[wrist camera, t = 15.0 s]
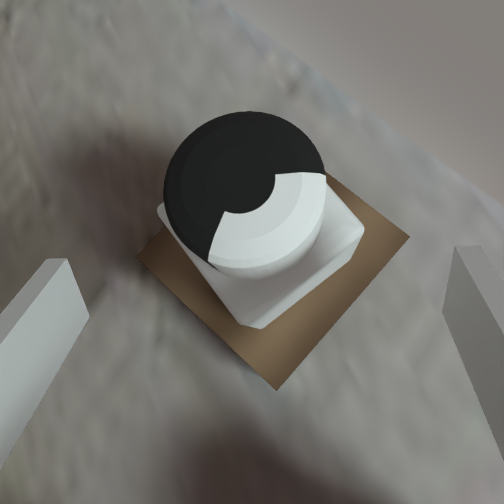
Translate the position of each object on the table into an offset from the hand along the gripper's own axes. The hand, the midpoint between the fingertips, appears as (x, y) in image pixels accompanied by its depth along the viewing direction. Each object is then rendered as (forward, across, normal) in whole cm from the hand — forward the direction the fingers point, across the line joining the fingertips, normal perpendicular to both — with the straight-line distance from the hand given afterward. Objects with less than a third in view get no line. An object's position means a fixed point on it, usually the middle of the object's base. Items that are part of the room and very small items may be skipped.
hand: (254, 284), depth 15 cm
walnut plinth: (+13, 0, -8) cm, 16 cm away
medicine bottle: (+11, 0, -6) cm, 12 cm away
